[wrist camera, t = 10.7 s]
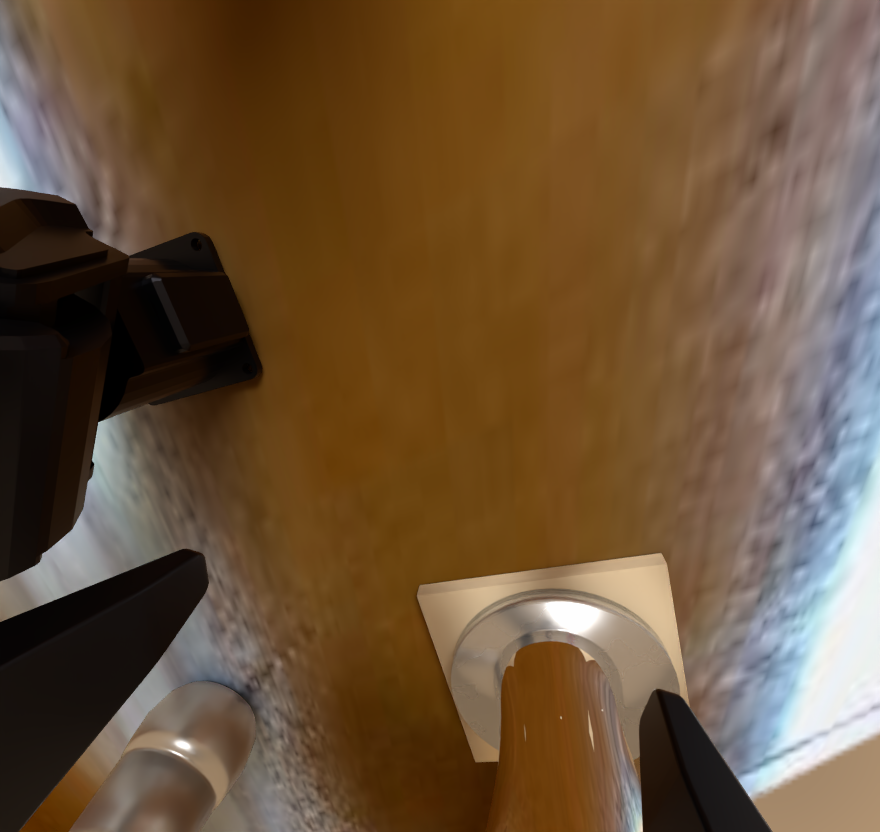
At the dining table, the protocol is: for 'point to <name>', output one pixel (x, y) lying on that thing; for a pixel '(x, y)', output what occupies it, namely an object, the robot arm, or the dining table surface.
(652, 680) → the flange
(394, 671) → the dining table surface
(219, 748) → the plastic bottle
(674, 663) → the base plate
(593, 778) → the beer glass
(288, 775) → the dining table surface
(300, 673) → the dining table surface
